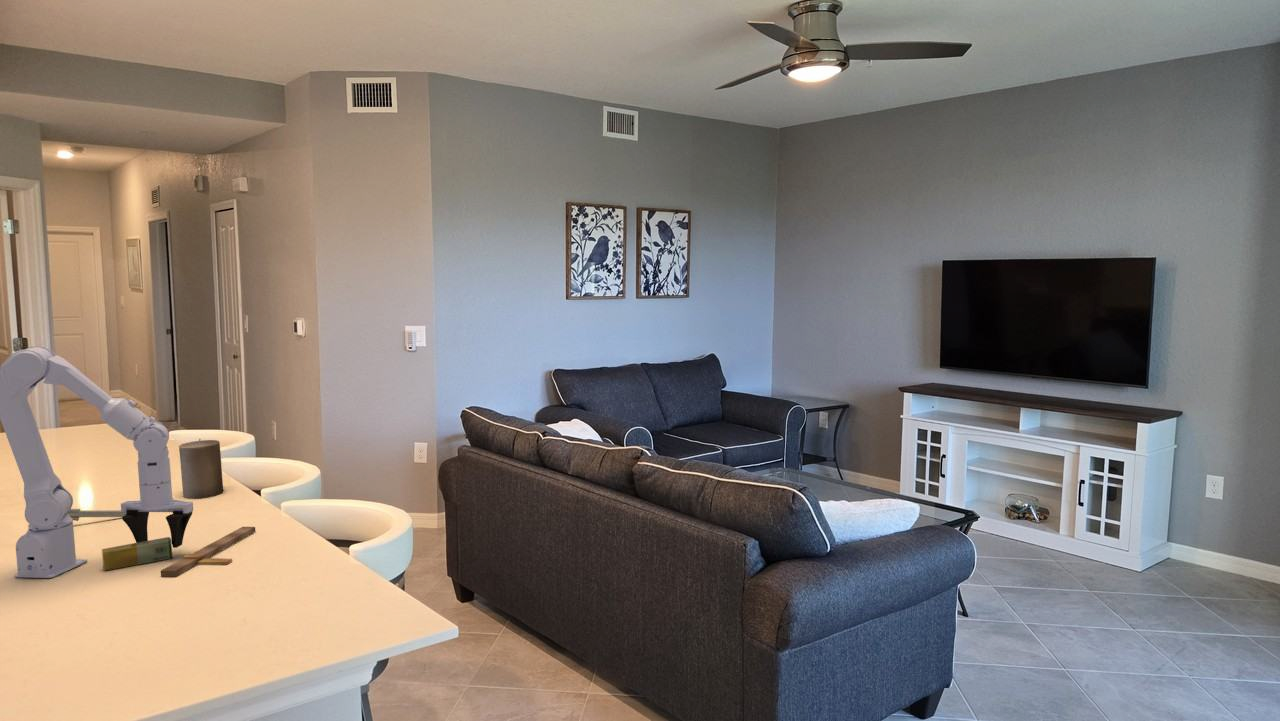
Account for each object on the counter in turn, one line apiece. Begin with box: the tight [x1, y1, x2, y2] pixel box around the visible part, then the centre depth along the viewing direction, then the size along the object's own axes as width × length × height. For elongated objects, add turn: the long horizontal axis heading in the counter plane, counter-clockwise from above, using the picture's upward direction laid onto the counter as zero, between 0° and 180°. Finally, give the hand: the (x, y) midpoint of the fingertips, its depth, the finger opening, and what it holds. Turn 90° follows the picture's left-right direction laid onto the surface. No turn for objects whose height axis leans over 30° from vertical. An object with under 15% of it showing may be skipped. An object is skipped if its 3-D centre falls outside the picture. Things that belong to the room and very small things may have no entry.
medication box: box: [101, 536, 174, 572], centre depth 168 cm, size 12×3×4 cm, turn 126°
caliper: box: [67, 508, 126, 522], centre depth 197 cm, size 20×1×6 cm, turn 128°
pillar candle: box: [178, 438, 225, 499], centre depth 221 cm, size 10×10×15 cm
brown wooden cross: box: [160, 526, 256, 578], centre depth 174 cm, size 28×9×2 cm, turn 175°
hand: (160, 545), depth 173 cm, fingers open, 7 cm apart
